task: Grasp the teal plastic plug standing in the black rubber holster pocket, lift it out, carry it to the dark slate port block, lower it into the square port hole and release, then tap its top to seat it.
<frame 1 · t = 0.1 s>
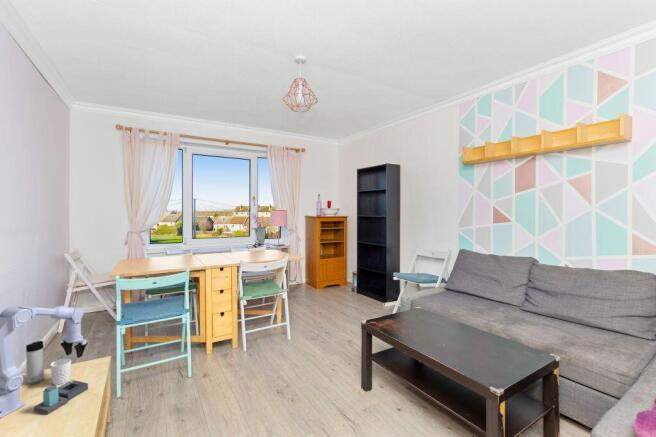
hand: (74, 355, 160), 10 cm above the table, fingers open, 7 cm apart
holster: (51, 406, 136), on the table
plug: (50, 397, 135), in the holster
travel mug: (36, 381, 154), on the table
port: (70, 393, 145), on the table
drinking glass: (61, 381, 154), on the table
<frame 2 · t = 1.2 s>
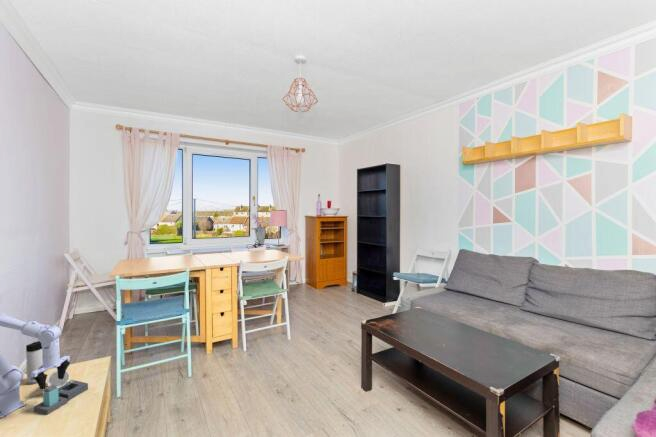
hand: (52, 383, 136), 10 cm above the table, fingers open, 7 cm apart
drinking glass: (58, 377, 152), point 3 cm above the table, touching port
everything else where it was.
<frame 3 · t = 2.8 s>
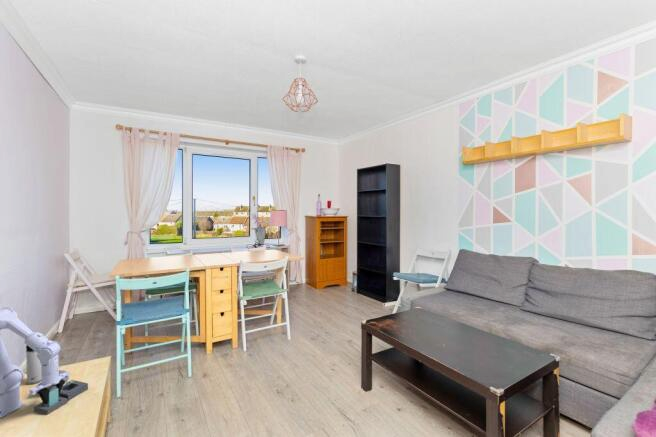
hand: (51, 400, 135), 3 cm above the table, fingers closed on plug, 4 cm apart
plug: (50, 397, 135), in the holster, touching gripper
everything else where it was.
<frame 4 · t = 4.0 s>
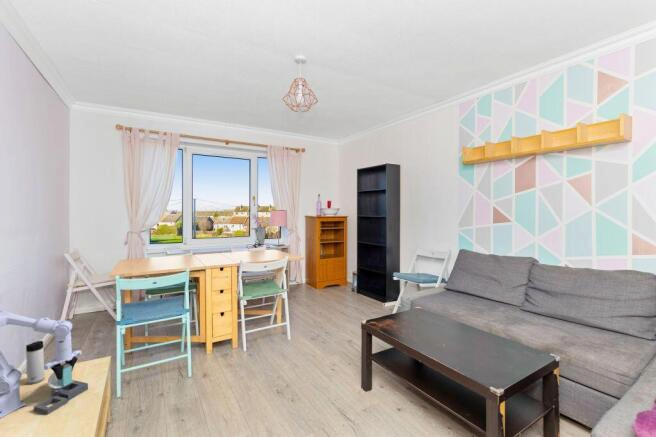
hand: (64, 376, 142), 10 cm above the table, fingers closed on plug, 4 cm apart
plug: (64, 374, 142), point 11 cm above the table, touching gripper
everything else where it was.
when the fingers open (4 cm above the table, at t = 5.6 s): plug stays where it is, resting in port.
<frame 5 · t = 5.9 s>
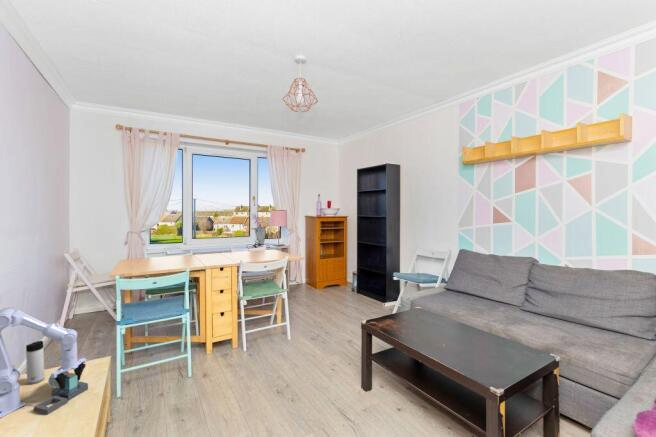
hand: (70, 384, 145), 4 cm above the table, fingers open, 6 cm apart
plug: (70, 384, 145), in the port
everything else where it was.
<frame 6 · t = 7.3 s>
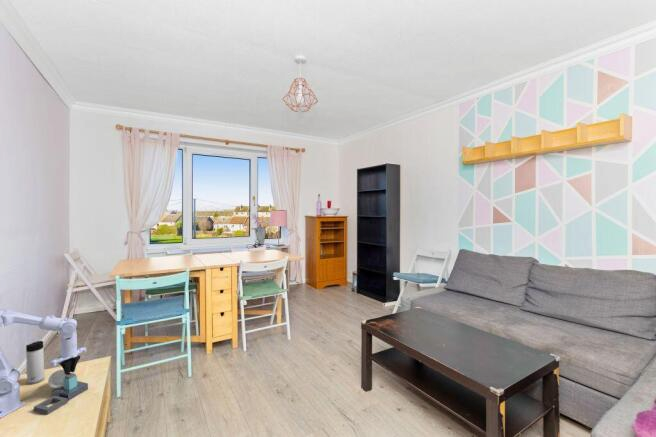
hand: (69, 373, 145), 10 cm above the table, fingers closed
nothing on the table moved.
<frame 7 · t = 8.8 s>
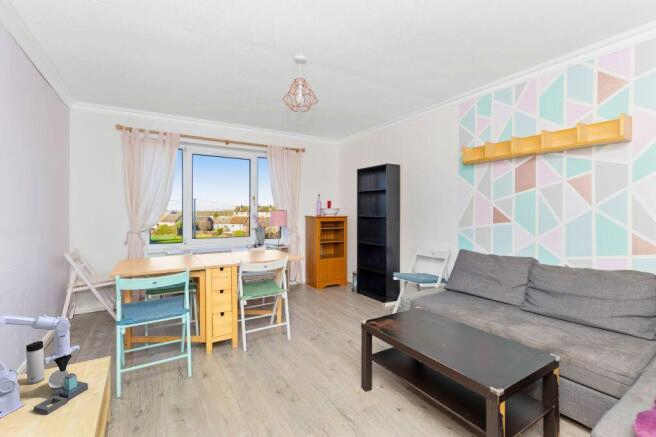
hand: (62, 370, 146), 10 cm above the table, fingers closed, pressing on drinking glass
drinking glass: (59, 377, 152), point 3 cm above the table, touching gripper
everything else where it was.
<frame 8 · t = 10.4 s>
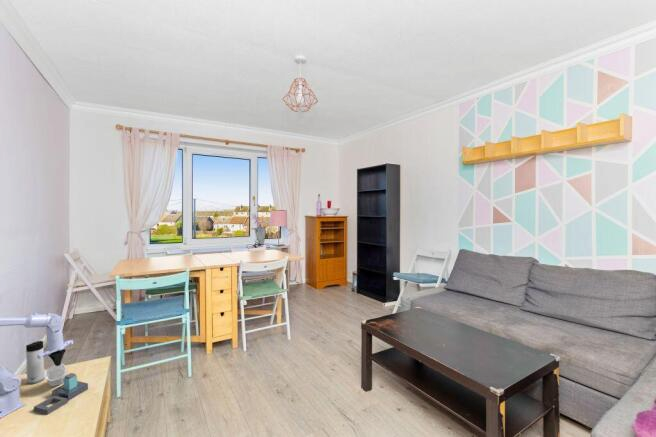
hand: (57, 365, 148), 11 cm above the table, fingers closed, pressing on drinking glass
drinking glass: (58, 378, 153), point 2 cm above the table, touching gripper
everything else where it was.
at the end: plug 0.2 cm off-centre on the port, point 4.5 cm above the port's base; plug tilted 0°; the gripper is holding drinking glass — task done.
